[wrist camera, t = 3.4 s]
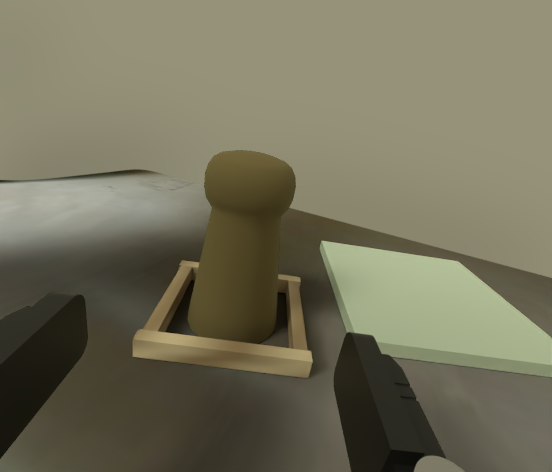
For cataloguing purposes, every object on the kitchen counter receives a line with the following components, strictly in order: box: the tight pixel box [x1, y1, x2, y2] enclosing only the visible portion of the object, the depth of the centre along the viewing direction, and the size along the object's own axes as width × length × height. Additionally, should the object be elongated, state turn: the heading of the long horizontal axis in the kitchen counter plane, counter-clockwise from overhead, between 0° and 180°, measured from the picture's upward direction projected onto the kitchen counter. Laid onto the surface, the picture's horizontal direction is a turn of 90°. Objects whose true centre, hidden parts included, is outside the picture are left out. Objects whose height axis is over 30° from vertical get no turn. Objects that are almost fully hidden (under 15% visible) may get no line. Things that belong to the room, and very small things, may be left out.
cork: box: [187, 150, 296, 344], centre depth 19 cm, size 6×6×11 cm
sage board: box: [320, 241, 552, 377], centre depth 27 cm, size 16×16×1 cm
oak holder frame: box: [133, 260, 313, 378], centre depth 21 cm, size 10×9×1 cm
